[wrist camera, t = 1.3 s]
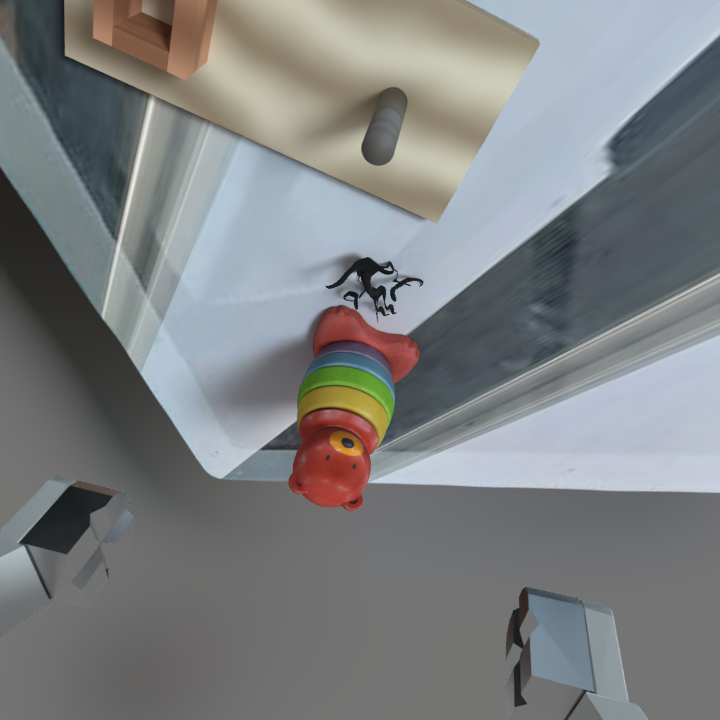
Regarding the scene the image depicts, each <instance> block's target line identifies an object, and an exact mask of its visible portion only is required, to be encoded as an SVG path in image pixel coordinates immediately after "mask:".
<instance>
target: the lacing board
mask: <svg viewBox="0 0 720 720" xmlns="http://www.w3.org/2000/svg"><path fill="white" fill-rule="evenodd" d="M174 8H175V0H142V12H143V13H145V14H147V15H150V16H152V17H154V18H156V19H158V20H160V21H162V22H164V23H166V24H168V25H171V26H172V25H173V16H174ZM64 15H65V56H67V57H70V58H72V59H74V60H76V61H79V62H81V63H83V64H85V65H87V66H90V67H92V68H94V69H96V70H98V71H101V72H103V73H105V74H107V75H110V76H112V77H114V78H116V79H118V80H121V81H123V82H125V83H127V84H129V85H132V86H134V87H136V88H138V89H140V90H143V91H145V92H147V93H149V94H152V95H154V96H156V97H158V98H160V99H163V100H165V101H167V102H169V103H171V104H174V105H176V106H178V107H180V108H183V109H185V110H187V111H189V112H191V113H194V114H196V115H198V116H200V117H202V118H205V119H207V120H209V121H211V122H213V123H216V124H218V125H220V126H222V127H225V128H227V129H229V130H231V131H233V132H236V133H238V134H240V135H242V136H244V137H247V138H249V139H251V140H253V141H256V142H258V143H260V144H262V145H264V146H267V147H269V148H271V149H273V150H275V151H278V152H280V153H282V154H284V155H287V156H289V157H291V158H293V159H295V160H298V161H300V162H302V163H304V164H306V165H309V166H311V167H313V168H315V169H317V170H320V171H322V172H324V173H326V174H329V175H331V176H333V177H335V178H337V179H340V180H342V181H344V182H346V183H348V184H351V185H353V186H355V187H357V188H360V189H362V190H364V191H366V192H368V193H371V194H373V195H375V196H377V197H379V198H382V199H384V200H386V201H388V202H390V203H393V204H395V205H397V206H399V207H402V208H404V209H406V210H408V211H410V212H413V213H415V214H417V215H419V216H421V217H424V218H426V219H428V220H430V221H433V222H435V223H437V222H438V221H439V219H440V217H441V215H442V214H443V212H444V210H445V208H446V207H447V205H448V203H449V202H450V200H451V198H452V196H453V195H454V193H455V191H456V189H457V188H458V186H459V184H460V182H461V181H462V179H463V177H464V175H465V174H466V172H467V170H468V169H469V167H470V165H471V163H472V162H473V160H474V158H475V156H476V155H477V153H478V151H479V149H480V148H481V146H482V144H483V143H484V141H485V139H486V137H487V136H488V134H489V132H490V130H491V129H492V127H493V125H494V123H495V122H496V120H497V118H498V117H499V115H500V113H501V111H502V110H503V108H504V106H505V104H506V103H507V101H508V99H509V97H510V96H511V94H512V92H513V90H514V89H515V87H516V85H517V84H518V82H519V80H520V78H521V77H522V75H523V73H524V71H525V70H526V68H527V66H528V64H529V63H530V61H531V59H532V58H533V56H534V54H535V52H536V51H537V49H538V47H539V45H540V44H539V40H538V38H536V37H534V36H532V35H530V34H528V33H526V32H525V31H523V30H521V29H519V28H517V27H515V26H513V25H511V24H509V23H507V22H506V21H504V20H502V19H500V18H498V17H496V16H494V15H492V14H490V13H488V12H487V11H485V10H483V9H481V8H479V7H477V6H475V5H473V4H471V3H469V2H468V1H466V0H217V6H216V12H215V18H214V24H213V30H212V36H211V42H210V48H209V54H208V60H207V62H206V63H205V64H204V65H203V66H202V67H200V68H199V69H198V70H197V71H195V72H194V73H193V74H192V75H191V76H189V77H188V78H187V79H186V80H184V79H181V78H179V77H177V76H175V75H173V74H171V73H168V72H166V71H164V70H162V69H160V68H158V67H155V66H153V65H151V64H149V63H147V62H145V61H142V60H140V59H138V58H136V57H134V56H131V55H129V54H127V53H125V52H123V51H121V50H118V49H116V48H114V47H112V46H110V45H108V44H105V43H103V42H101V41H99V40H97V39H95V38H93V15H94V0H64Z"/></svg>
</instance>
